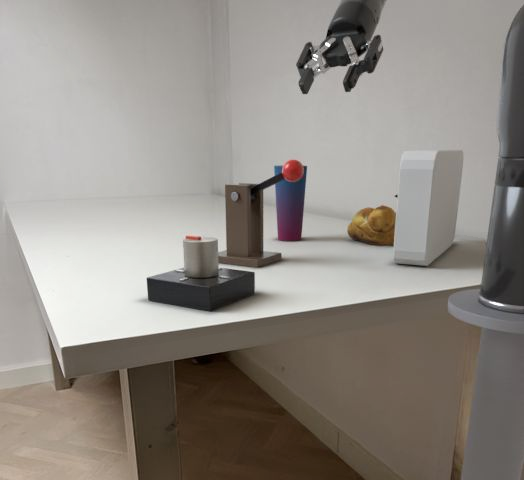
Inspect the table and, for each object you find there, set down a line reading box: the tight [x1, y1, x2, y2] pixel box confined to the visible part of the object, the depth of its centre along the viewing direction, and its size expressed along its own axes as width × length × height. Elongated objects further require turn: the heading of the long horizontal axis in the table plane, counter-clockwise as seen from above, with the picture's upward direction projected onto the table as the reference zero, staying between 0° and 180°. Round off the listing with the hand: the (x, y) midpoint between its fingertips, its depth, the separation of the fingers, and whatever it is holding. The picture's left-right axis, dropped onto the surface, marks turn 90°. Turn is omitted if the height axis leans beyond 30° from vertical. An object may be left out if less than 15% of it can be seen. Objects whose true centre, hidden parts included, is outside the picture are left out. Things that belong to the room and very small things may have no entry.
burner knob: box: [182, 234, 220, 278], centre depth 71 cm, size 4×4×5 cm
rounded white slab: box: [392, 149, 464, 267], centre depth 100 cm, size 29×8×18 cm, turn 153°
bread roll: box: [346, 204, 396, 246], centre depth 114 cm, size 13×10×8 cm
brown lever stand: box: [218, 182, 283, 268], centre depth 94 cm, size 10×8×13 cm
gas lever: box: [251, 158, 304, 201], centre depth 89 cm, size 13×3×3 cm, turn 59°
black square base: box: [146, 267, 256, 312], centre depth 72 cm, size 10×10×3 cm
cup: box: [273, 164, 308, 242], centre depth 116 cm, size 7×7×15 cm
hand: (324, 88), depth 91 cm, fingers open, 7 cm apart
